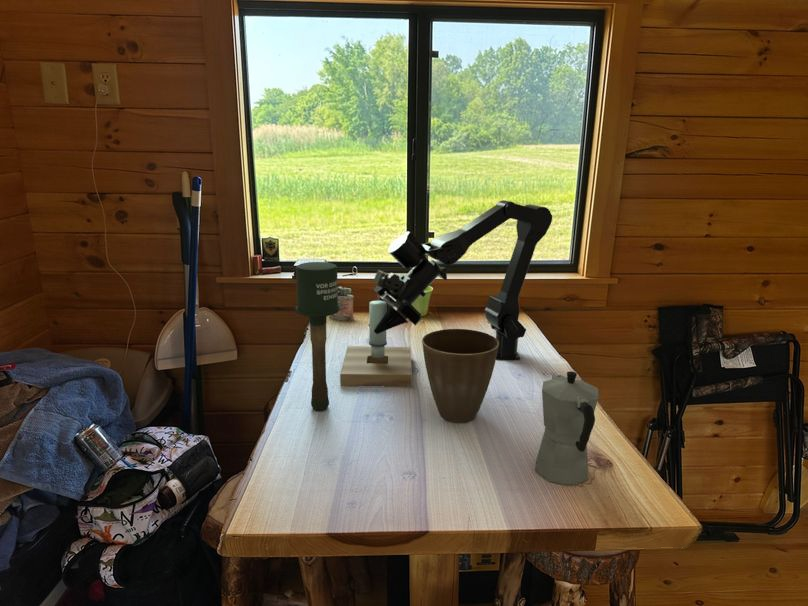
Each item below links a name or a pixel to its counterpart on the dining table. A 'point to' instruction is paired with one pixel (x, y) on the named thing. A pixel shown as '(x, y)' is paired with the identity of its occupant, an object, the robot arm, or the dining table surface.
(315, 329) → the potato masher grenade
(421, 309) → the plant pot
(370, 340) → the peg
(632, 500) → the dining table surface
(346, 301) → the lighter
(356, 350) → the board
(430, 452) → the dining table surface
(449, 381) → the plant pot
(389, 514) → the dining table surface
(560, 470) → the coffeepot
